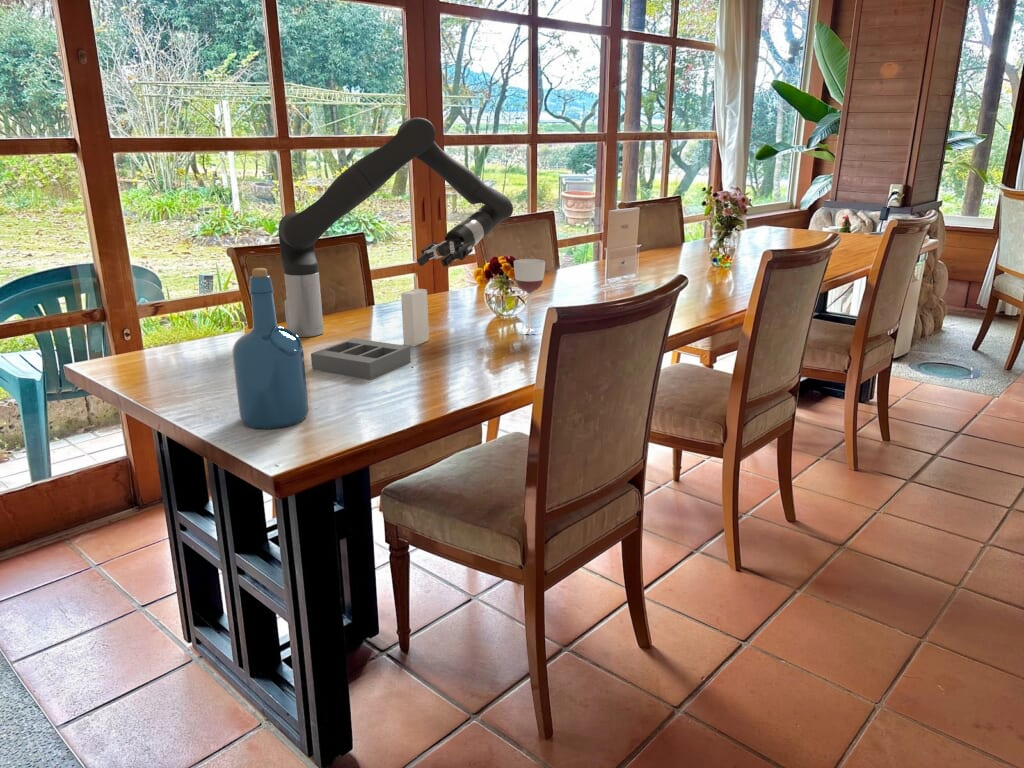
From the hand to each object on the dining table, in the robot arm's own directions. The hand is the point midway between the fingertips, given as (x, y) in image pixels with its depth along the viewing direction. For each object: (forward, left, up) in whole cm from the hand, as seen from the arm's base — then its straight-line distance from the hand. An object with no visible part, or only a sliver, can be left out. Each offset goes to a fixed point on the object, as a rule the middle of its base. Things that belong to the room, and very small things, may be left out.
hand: (431, 263), depth 209 cm
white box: (-1, -7, -20) cm, 22 cm away
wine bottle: (+7, -68, -21) cm, 72 cm away
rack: (0, -31, -20) cm, 37 cm away
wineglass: (+21, +17, -21) cm, 34 cm away
